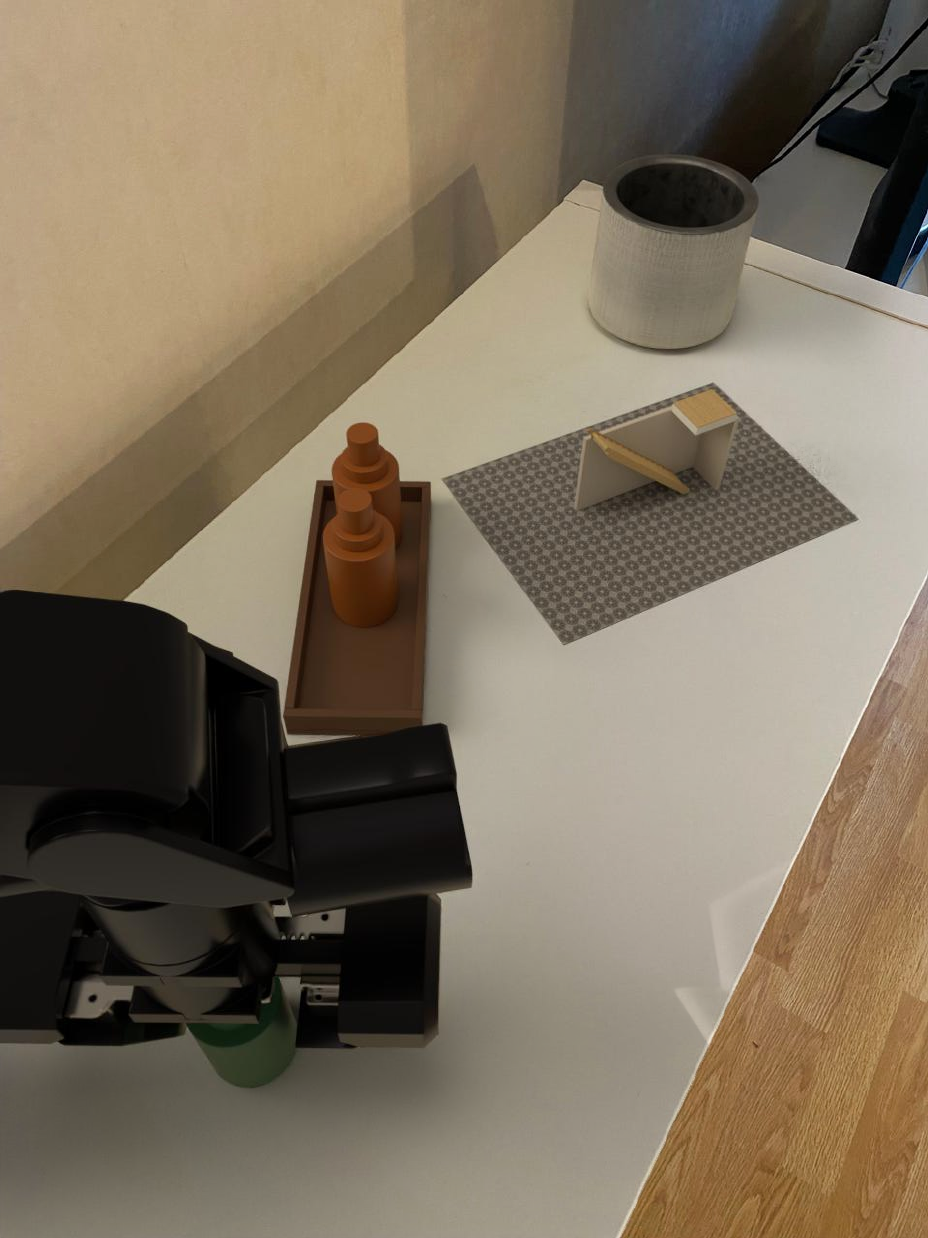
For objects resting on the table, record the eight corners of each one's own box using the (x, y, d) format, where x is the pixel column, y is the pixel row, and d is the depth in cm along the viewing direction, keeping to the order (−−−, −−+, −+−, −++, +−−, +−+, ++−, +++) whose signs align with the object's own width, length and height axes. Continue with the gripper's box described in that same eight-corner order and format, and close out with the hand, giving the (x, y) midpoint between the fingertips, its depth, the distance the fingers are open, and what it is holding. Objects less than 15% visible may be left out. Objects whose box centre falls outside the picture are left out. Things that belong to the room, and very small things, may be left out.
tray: (422, 736, 62) (421, 717, 60) (287, 734, 62) (282, 716, 60) (431, 501, 74) (430, 481, 73) (319, 499, 74) (316, 479, 73)
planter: (567, 334, 87) (580, 212, 78) (611, 259, 94) (627, 140, 86) (710, 370, 84) (740, 248, 76) (744, 290, 92) (775, 170, 83)
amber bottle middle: (348, 637, 66) (335, 535, 58) (321, 591, 68) (306, 488, 61) (409, 613, 67) (404, 510, 60) (381, 568, 69) (373, 465, 62)
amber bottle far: (355, 568, 69) (343, 464, 62) (330, 526, 72) (316, 422, 64) (413, 546, 71) (408, 442, 63) (386, 506, 73) (379, 402, 66)
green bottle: (226, 1105, 48) (185, 1045, 41) (196, 1021, 51) (153, 950, 44) (312, 1060, 50) (287, 995, 42) (279, 981, 52) (251, 905, 45)
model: (719, 488, 75) (742, 407, 69) (597, 536, 72) (611, 455, 66) (693, 462, 77) (714, 380, 71) (573, 508, 74) (584, 426, 68)
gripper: (443, 702, 41) (444, 869, 53) (-16, 696, 41) (90, 865, 53) (436, 976, 34) (439, 1096, 47) (-117, 969, 34) (31, 1091, 46)
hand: (245, 1024), depth 48 cm, fingers open, 6 cm apart
